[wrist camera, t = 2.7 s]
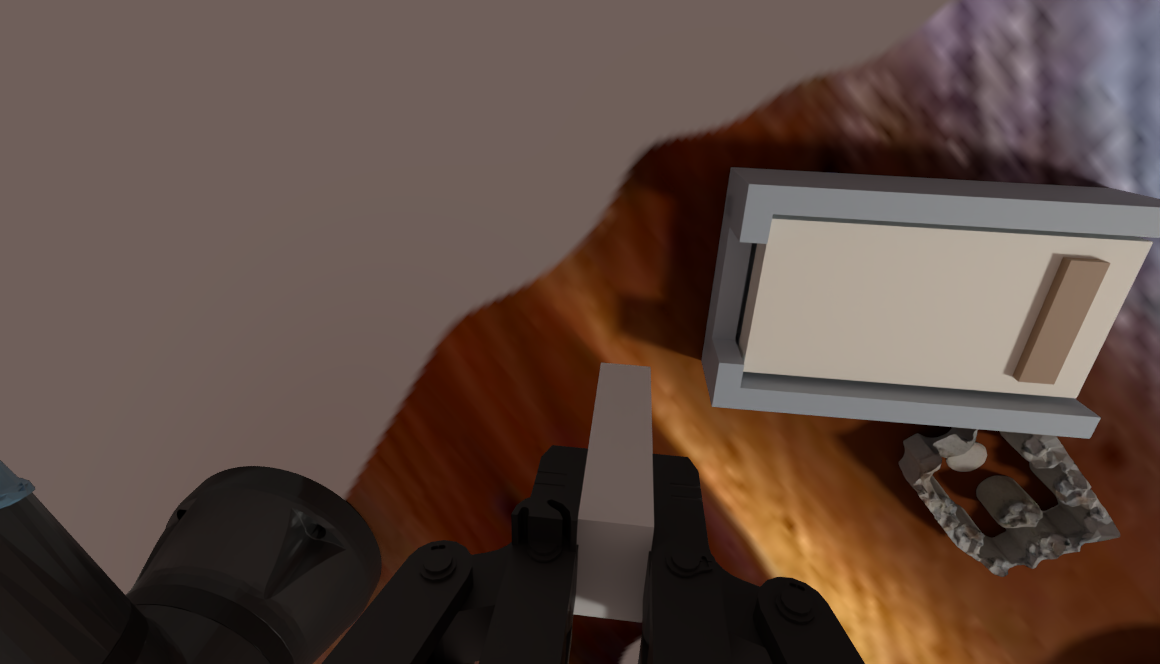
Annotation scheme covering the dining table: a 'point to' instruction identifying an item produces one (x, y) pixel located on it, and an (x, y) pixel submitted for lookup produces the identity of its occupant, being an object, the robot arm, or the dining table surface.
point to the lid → (935, 303)
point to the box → (896, 201)
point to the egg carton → (1009, 499)
